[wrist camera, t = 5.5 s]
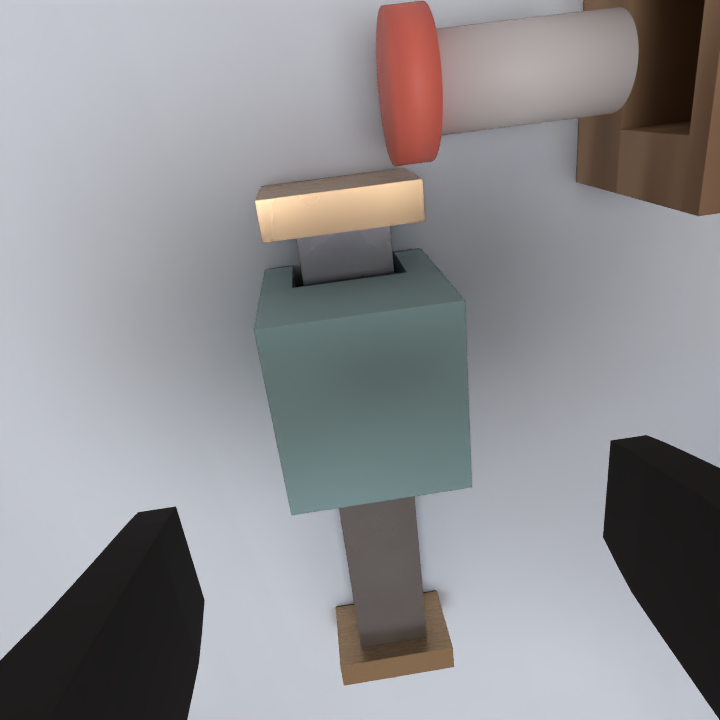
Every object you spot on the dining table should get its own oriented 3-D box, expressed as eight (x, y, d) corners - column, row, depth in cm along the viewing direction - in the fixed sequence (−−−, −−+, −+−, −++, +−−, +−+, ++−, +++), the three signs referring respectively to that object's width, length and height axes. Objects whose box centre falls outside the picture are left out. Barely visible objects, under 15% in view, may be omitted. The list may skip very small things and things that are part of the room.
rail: (404, 168, 16) (422, 179, 14) (438, 609, 23) (453, 666, 21) (261, 186, 16) (255, 200, 14) (339, 625, 23) (344, 685, 21)
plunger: (584, -8, 13) (660, -38, 10) (577, 134, 14) (645, 142, 11) (371, 16, 13) (391, -7, 10) (384, 159, 14) (405, 173, 11)
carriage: (420, 248, 17) (464, 300, 13) (431, 397, 19) (472, 487, 15) (265, 269, 17) (253, 330, 12) (292, 418, 19) (291, 515, 14)
